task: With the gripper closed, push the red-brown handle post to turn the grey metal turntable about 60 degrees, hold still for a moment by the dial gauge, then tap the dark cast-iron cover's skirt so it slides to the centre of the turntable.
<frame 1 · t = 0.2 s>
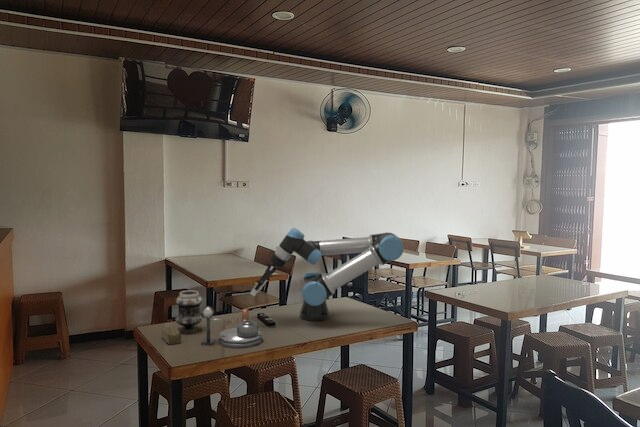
hand: (254, 292, 236), 16 cm above the table, tool tilted 35°, fingers open, 13 cm apart
turntable base: (240, 340, 212), on the table
stone block: (171, 341, 210), on the table
apothecary jar: (188, 331, 224), on the table
turntable: (241, 325, 213), point 6 cm above the table, hinge at 0.0°, touching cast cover
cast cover: (247, 335, 209), point 3 cm above the table, touching turntable
dial gauge stand: (208, 342, 208), on the table
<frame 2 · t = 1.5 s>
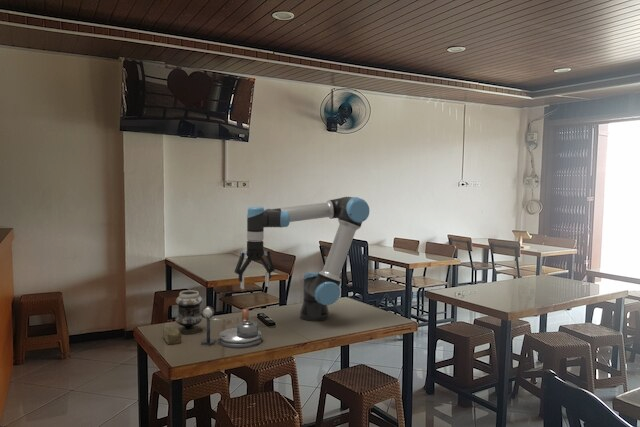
hand: (254, 287, 224), 20 cm above the table, tool pointing down, fingers open, 11 cm apart
nothing on the table moved.
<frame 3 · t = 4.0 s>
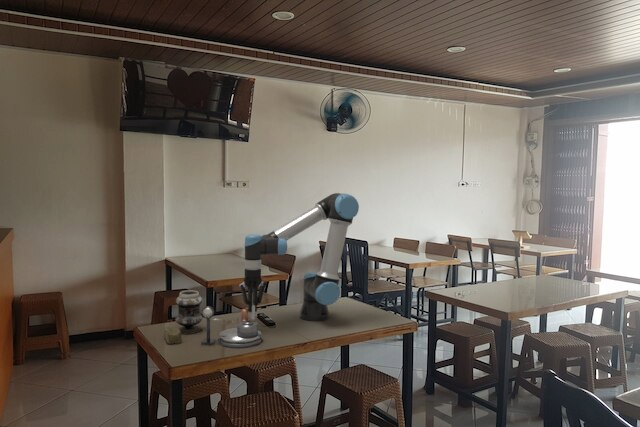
hand: (252, 318, 225), 6 cm above the table, tool pointing down, fingers closed
turntable: (241, 325, 213), point 6 cm above the table, hinge at 1.2°, touching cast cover, gripper
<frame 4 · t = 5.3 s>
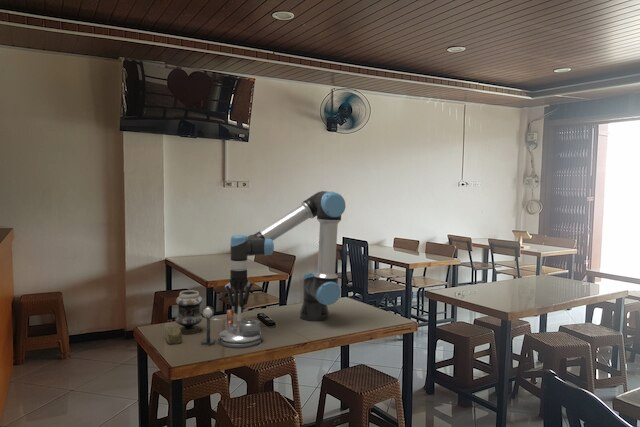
hand: (238, 320, 222), 6 cm above the table, tool pointing down, fingers closed
turntable: (238, 325, 213), point 6 cm above the table, hinge at 33.5°, touching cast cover, gripper
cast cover: (249, 333, 212), point 3 cm above the table, touching turntable
everything else where it was.
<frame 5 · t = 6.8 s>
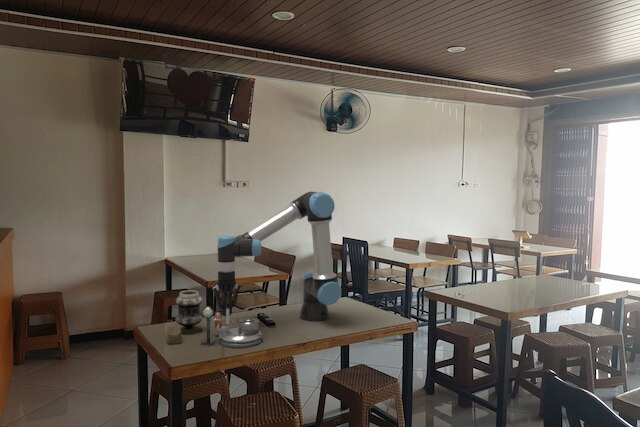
hand: (226, 322, 218), 6 cm above the table, tool pointing down, fingers closed
turntable: (236, 325, 212), point 6 cm above the table, hinge at 64.6°, touching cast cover, gripper
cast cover: (248, 332, 214), point 3 cm above the table, touching turntable
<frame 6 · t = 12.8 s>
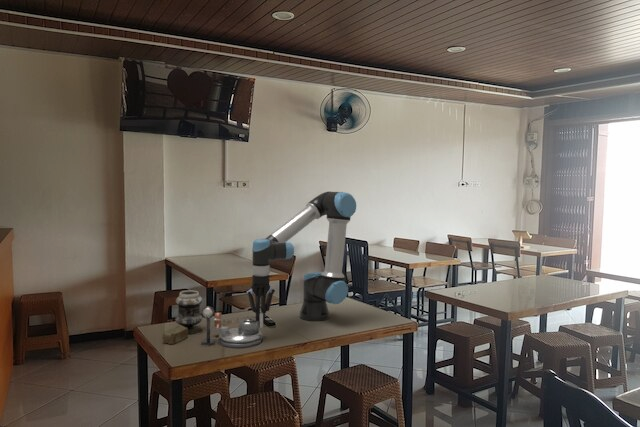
hand: (260, 327, 216), 5 cm above the table, tool pointing down, fingers closed
turntable: (236, 325, 212), point 6 cm above the table, hinge at 65.9°, touching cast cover
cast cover: (248, 332, 214), point 3 cm above the table, touching gripper, turntable
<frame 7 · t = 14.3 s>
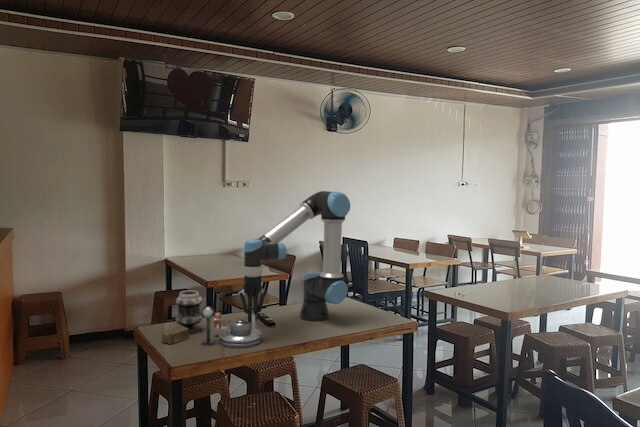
hand: (252, 328, 214), 5 cm above the table, tool pointing down, fingers closed
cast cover: (240, 333, 212), point 3 cm above the table, touching gripper, turntable
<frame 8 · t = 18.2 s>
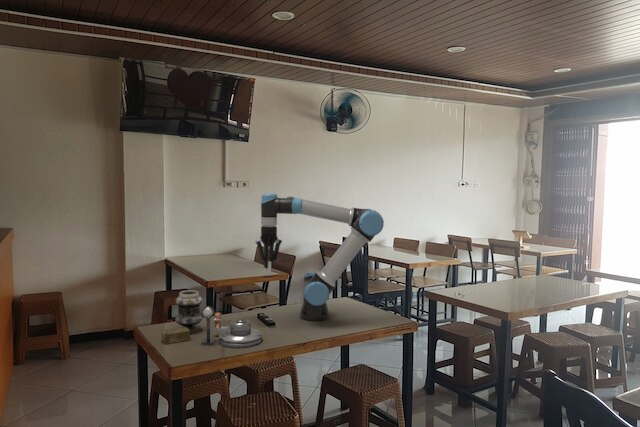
hand: (268, 274, 234), 24 cm above the table, tool pointing down, fingers closed
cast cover: (240, 333, 212), point 3 cm above the table, touching turntable
at the end: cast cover 0.5 cm from the turntable (horizontally); turntable at +66° (first picture: +0°); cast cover tilted 1° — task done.
